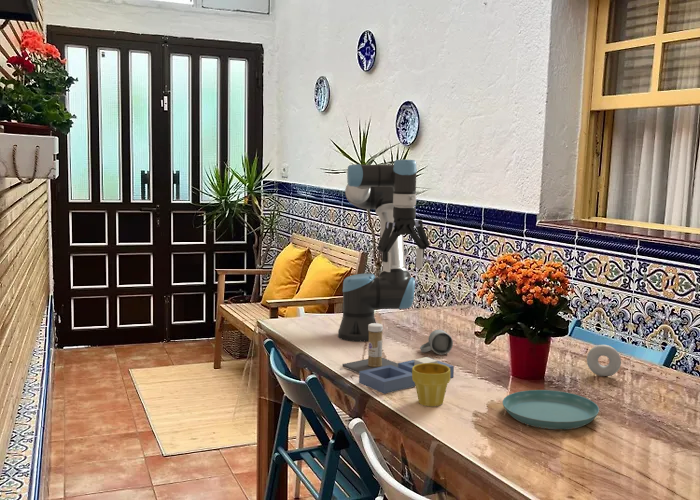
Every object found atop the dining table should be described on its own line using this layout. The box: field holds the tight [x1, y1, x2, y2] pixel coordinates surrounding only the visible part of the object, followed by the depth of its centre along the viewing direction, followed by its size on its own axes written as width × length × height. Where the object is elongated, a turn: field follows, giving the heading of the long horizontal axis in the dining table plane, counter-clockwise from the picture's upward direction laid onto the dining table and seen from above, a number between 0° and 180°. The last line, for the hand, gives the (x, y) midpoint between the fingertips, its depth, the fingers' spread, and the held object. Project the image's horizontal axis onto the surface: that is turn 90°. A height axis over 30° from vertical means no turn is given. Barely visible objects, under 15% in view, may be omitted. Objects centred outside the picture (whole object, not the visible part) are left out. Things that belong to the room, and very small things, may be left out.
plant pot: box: [412, 363, 451, 408], centre depth 194 cm, size 10×10×10 cm
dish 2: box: [397, 356, 455, 379], centre depth 218 cm, size 12×12×4 cm
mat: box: [341, 357, 399, 374], centre depth 226 cm, size 15×15×1 cm
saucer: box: [502, 389, 600, 430], centre depth 185 cm, size 24×24×3 cm
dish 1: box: [358, 365, 416, 395], centre depth 209 cm, size 12×12×4 cm
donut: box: [586, 344, 622, 377], centre depth 217 cm, size 10×4×10 cm, turn 65°
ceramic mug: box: [419, 329, 454, 356], centre depth 245 cm, size 11×8×8 cm
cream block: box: [413, 356, 438, 366], centre depth 218 cm, size 5×5×5 cm
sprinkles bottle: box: [367, 322, 384, 367], centre depth 225 cm, size 5×5×14 cm
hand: (403, 269), depth 238 cm, fingers open, 13 cm apart
